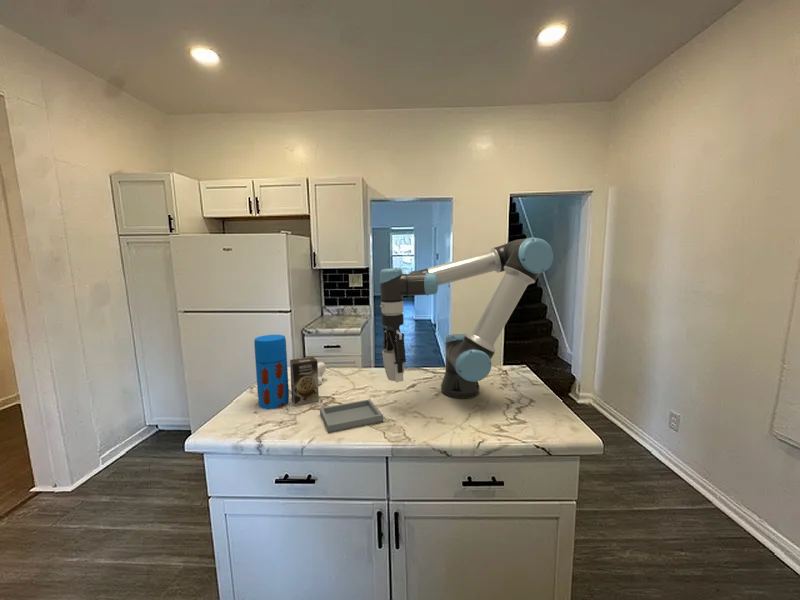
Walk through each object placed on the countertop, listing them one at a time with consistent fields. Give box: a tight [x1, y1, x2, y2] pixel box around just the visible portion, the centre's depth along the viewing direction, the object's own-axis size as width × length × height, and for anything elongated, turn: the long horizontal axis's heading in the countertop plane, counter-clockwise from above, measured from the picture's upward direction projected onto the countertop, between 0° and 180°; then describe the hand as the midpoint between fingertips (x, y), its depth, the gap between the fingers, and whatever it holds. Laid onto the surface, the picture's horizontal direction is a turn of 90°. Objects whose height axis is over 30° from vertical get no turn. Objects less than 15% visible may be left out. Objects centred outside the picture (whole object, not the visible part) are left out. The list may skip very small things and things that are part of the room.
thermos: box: [253, 334, 290, 410], centre depth 130 cm, size 11×11×25 cm
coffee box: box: [289, 356, 320, 407], centre depth 132 cm, size 9×6×16 cm
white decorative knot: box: [317, 361, 327, 386], centre depth 152 cm, size 11×12×9 cm
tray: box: [319, 398, 384, 434], centre depth 119 cm, size 18×14×2 cm
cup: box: [381, 349, 407, 382], centre depth 124 cm, size 8×8×10 cm
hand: (394, 377), depth 124 cm, fingers closed on cup, 8 cm apart
